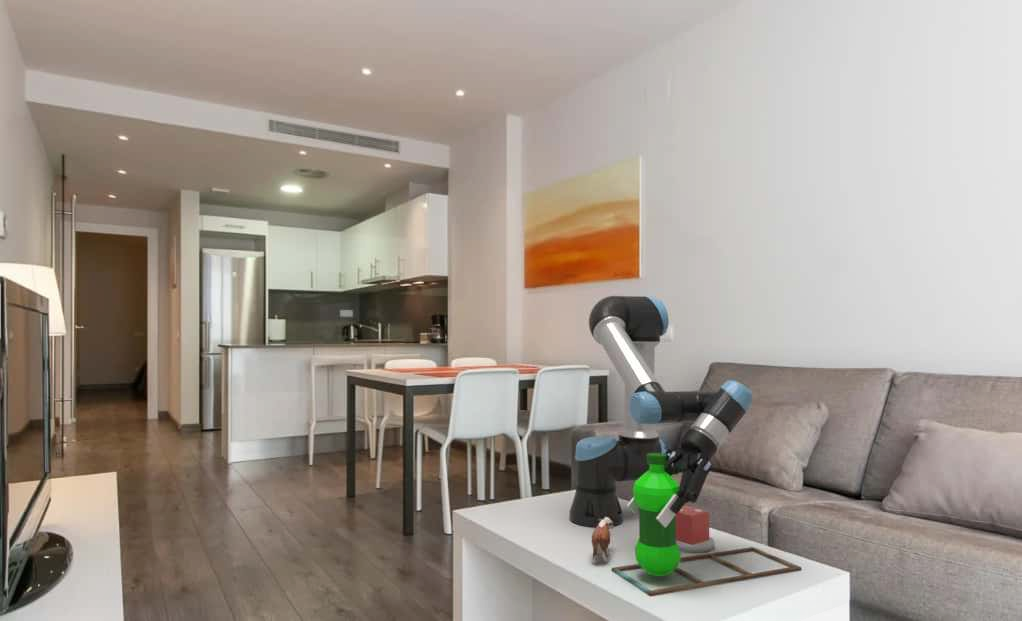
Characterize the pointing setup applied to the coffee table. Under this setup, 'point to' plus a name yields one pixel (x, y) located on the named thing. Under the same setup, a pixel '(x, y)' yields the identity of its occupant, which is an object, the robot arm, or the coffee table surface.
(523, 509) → the coffee table surface
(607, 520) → the bull figurine
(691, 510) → the red die stand
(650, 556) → the plastic bottle
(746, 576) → the walnut frame
